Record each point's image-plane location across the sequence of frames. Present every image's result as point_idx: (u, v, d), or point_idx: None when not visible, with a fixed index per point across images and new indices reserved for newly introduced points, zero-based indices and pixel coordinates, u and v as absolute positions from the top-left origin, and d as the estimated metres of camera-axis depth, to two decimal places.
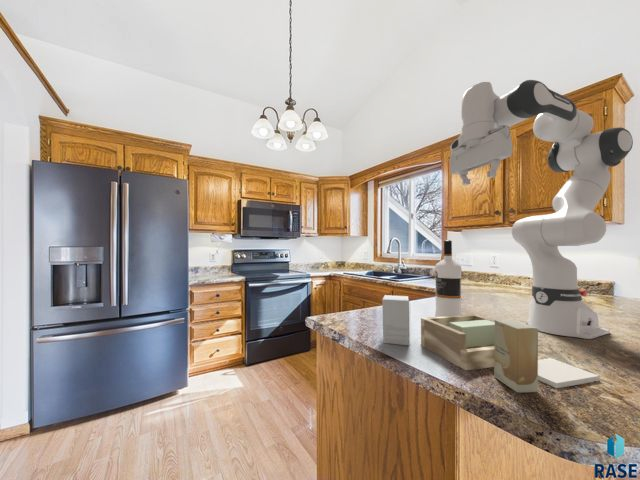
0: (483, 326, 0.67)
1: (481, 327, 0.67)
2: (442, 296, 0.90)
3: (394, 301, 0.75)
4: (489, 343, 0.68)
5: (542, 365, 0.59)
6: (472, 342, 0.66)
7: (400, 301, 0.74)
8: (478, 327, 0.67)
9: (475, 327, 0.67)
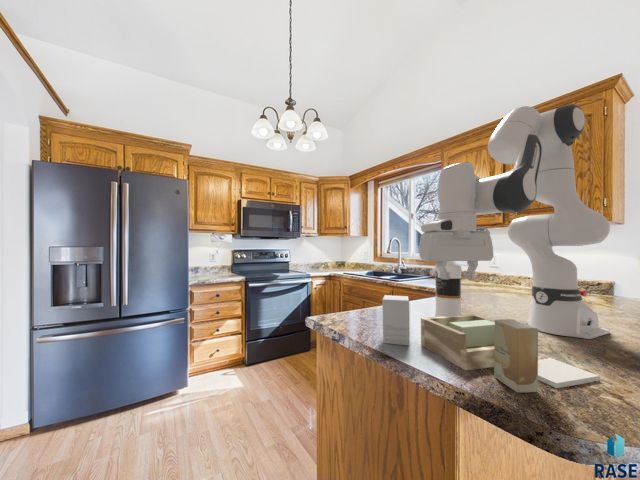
0: (483, 326, 0.67)
1: (481, 327, 0.67)
2: (442, 296, 0.90)
3: (394, 301, 0.75)
4: (489, 343, 0.68)
5: (542, 365, 0.59)
6: (472, 342, 0.66)
7: (400, 301, 0.74)
8: (478, 327, 0.67)
9: (475, 327, 0.67)
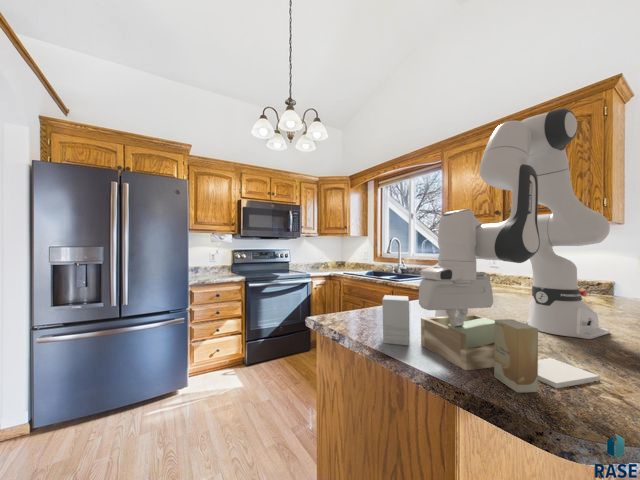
0: (482, 326, 0.67)
1: (480, 327, 0.67)
2: None
3: (394, 301, 0.75)
4: (489, 342, 0.68)
5: (542, 365, 0.59)
6: (472, 343, 0.66)
7: (400, 301, 0.74)
8: (477, 327, 0.67)
9: (474, 328, 0.66)
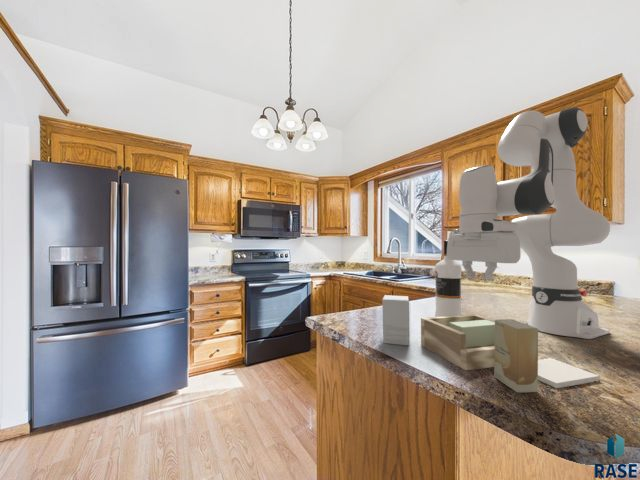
0: (483, 326, 0.67)
1: (481, 327, 0.67)
2: (442, 296, 0.90)
3: (394, 301, 0.75)
4: (489, 343, 0.68)
5: (542, 365, 0.59)
6: (472, 342, 0.66)
7: (400, 301, 0.74)
8: (478, 327, 0.67)
9: (475, 327, 0.67)
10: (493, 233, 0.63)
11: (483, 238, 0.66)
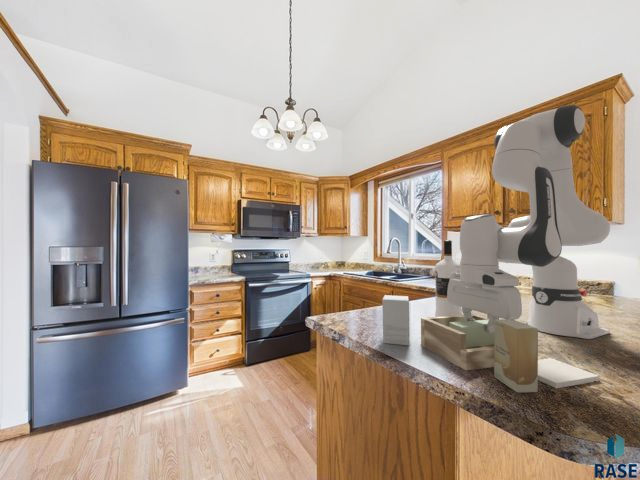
0: (483, 326, 0.67)
1: (481, 327, 0.67)
2: (442, 296, 0.90)
3: (394, 301, 0.75)
4: (489, 343, 0.68)
5: (542, 365, 0.59)
6: (472, 342, 0.66)
7: (400, 301, 0.74)
8: (478, 327, 0.67)
9: (475, 327, 0.67)
10: (494, 288, 0.63)
11: (484, 290, 0.66)
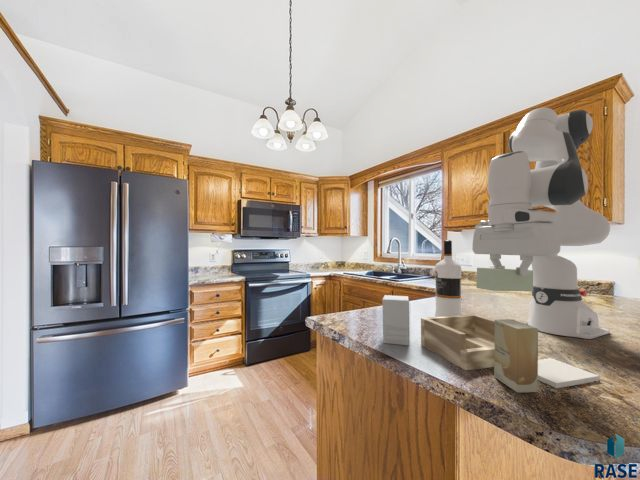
0: (515, 270, 0.63)
1: (512, 271, 0.62)
2: (442, 296, 0.90)
3: (394, 301, 0.75)
4: (520, 289, 0.63)
5: (542, 365, 0.59)
6: (502, 285, 0.62)
7: (400, 301, 0.74)
8: (509, 271, 0.62)
9: (506, 270, 0.62)
10: (529, 223, 0.58)
11: (517, 229, 0.61)
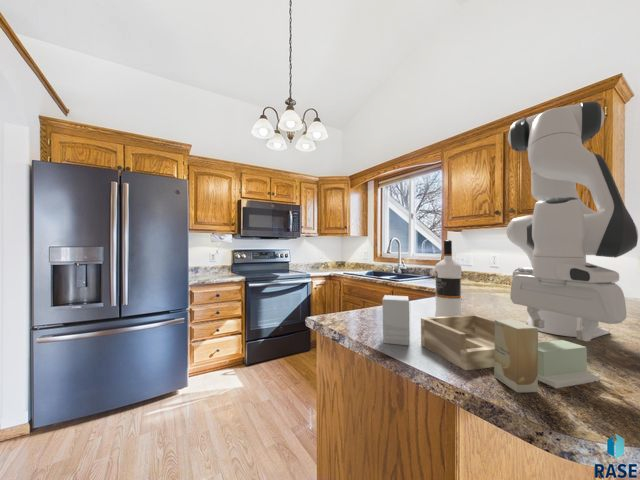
0: (567, 350, 0.56)
1: (564, 351, 0.55)
2: (442, 296, 0.90)
3: (394, 301, 0.75)
4: (574, 370, 0.56)
5: None
6: (555, 369, 0.55)
7: (400, 301, 0.74)
8: (561, 351, 0.55)
9: (558, 351, 0.55)
10: (589, 284, 0.51)
11: (571, 287, 0.54)
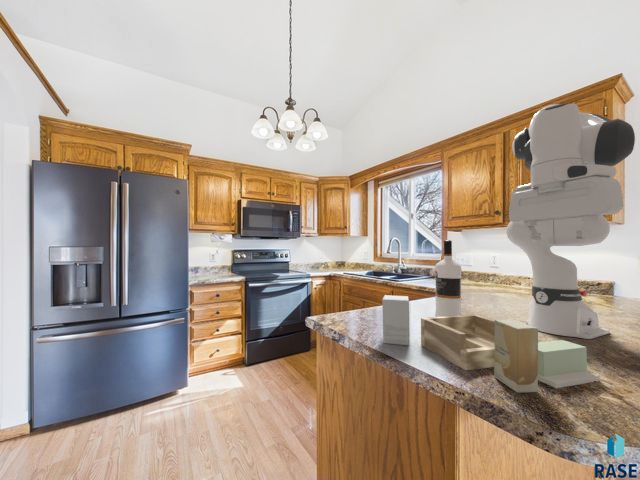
0: (567, 350, 0.56)
1: (564, 351, 0.55)
2: (442, 296, 0.90)
3: (394, 301, 0.75)
4: (574, 370, 0.56)
5: None
6: (555, 369, 0.55)
7: (400, 301, 0.74)
8: (561, 351, 0.55)
9: (558, 351, 0.55)
10: (586, 178, 0.52)
11: (569, 187, 0.55)
